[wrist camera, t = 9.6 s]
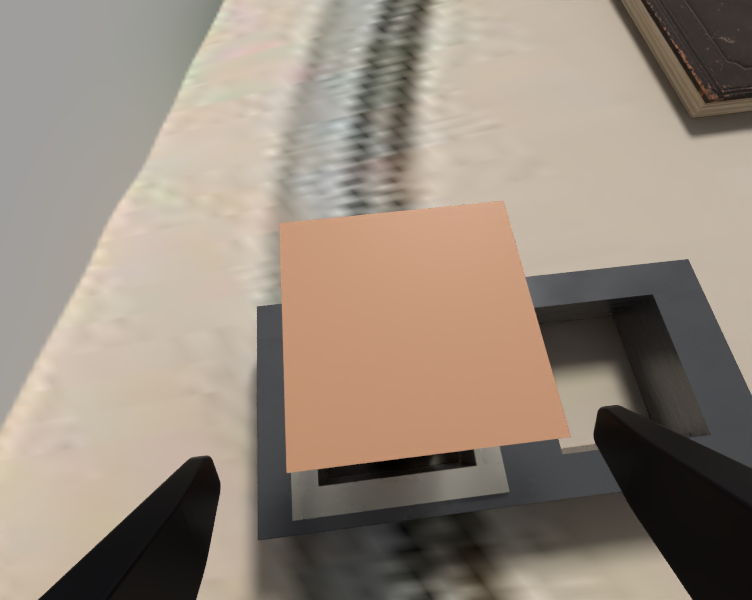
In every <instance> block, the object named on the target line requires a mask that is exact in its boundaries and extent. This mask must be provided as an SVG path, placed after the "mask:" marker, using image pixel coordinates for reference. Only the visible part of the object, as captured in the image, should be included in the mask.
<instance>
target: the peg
mask: <svg viewBox="0 0 752 600" xmlns="http://www.w3.org/2000/svg"><path fill="white" fill-rule="evenodd" d="M280 256H281V291H282V327H283V363H284V398H285V434H286V469H287V473H291V472H299V471H307V470H315V469H323V468H331V467H339V466H347V465H354V464H362V463H370V462H378V461H386V460H394V459H402V458H409V457H417V456H425V455H433V454H441V453H449V452H457V451H465V450H472V449H480V448H488V447H496V446H504V445H512V444H520V443H528V442H535V441H543V440H551V439H559V438H567V437H571V436H570V433H569V429H568V425H567V422H566V418H565V415H564V411H563V408H562V404H561V401H560V397H559V394H558V390H557V387H556V383H555V380H554V376H553V373H552V369H551V366H550V362H549V359H548V355H547V352H546V348H545V345H544V341H543V338H542V334H541V331H540V327H539V324H538V320H537V317H536V313H535V310H534V306H533V303H532V299H531V296H530V292H529V289H528V285H527V282H526V278H525V275H524V271H523V268H522V264H521V261H520V257H519V253H518V250H517V246H516V243H515V239H514V236H513V232H512V229H511V225H510V222H509V218H508V215H507V211H506V208H505V204H504V201H497V202H488V203H478V204H468V205H458V206H448V207H438V208H428V209H418V210H408V211H398V212H388V213H378V214H368V215H358V216H348V217H338V218H328V219H318V220H308V221H298V222H288V223H280Z"/></svg>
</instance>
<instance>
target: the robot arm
mask: <svg viewBox="0 0 752 600" xmlns="http://www.w3.org/2000/svg"><path fill="white" fill-rule="evenodd" d="M594 441H595V443H596V446H597V447H598V449H599V451H600V453H601V455H602V457H603V458H604V460H605V462H606V464H607V466H608V467H609V469H610V471H611V473H612V475H613V477H614V478H615V480H616V482H617V484H618V486H619V488H620V489H621V491H622V493H623V495H624V497H625V498H626V500H627V502H628V503H629V505H630V507H631V509H632V510H633V512H634V513H635V515H636V516H637V518H638V519H639V521H640V522H641V524H642V525H643V527H644V528H645V530H646V531H647V533H648V534H649V536H650V537H651V539H652V540H653V542H654V543H655V545H656V546H657V548H658V549H659V551H660V552H661V554H662V555H663V556H664V558H665V559H666V561H667V562H668V564H669V565H670V567H671V568H672V570H673V571H674V573H675V574H676V576H677V577H678V579H679V580H680V582H681V583H682V585H683V586H684V588H685V589H686V591H687V592H688V594H689V595H690V597H691V598H692V600H752V468H751V467H749V466H746V465H744V464H742V463H740V462H738V461H736V460H734V459H732V458H729V457H727V456H725V455H723V454H721V453H719V452H717V451H715V450H713V449H710V448H708V447H706V446H704V445H702V444H700V443H698V442H696V441H694V440H691V439H689V438H687V437H685V436H683V435H681V434H679V433H677V432H675V431H672V430H670V429H668V428H666V427H664V426H662V425H660V424H658V423H655V422H653V421H651V420H649V419H647V418H645V417H643V416H641V415H639V414H636V413H634V412H632V411H630V410H628V409H626V408H624V407H622V406H619V405H613V406H604V407H601V408H600V409H599V410H598V413H597V418H596V423H595V428H594ZM219 495H220V480H219V477H218V474H217V471H216V468H215V466H214V463H213V460H212V458H211V457H210V456H198V457H192V458H190V459H189V460H187V461H186V462H185V463H184V464H183V465H182V466H181V467H180V468H179V469H178V470H176V471H175V472H174V473H173V474H172V475H171V476H170V477H169V478H168V479H167V480H166V481H165V482H164V483H163V484H161V485H160V486H159V487H158V488H157V489H156V490H155V491H154V492H153V493H152V494H151V495H150V496H149V497H148V498H146V499H145V500H144V501H143V502H142V503H141V504H140V505H139V506H138V507H137V508H136V509H135V510H134V511H133V512H131V513H130V514H129V515H128V516H127V517H126V518H125V519H124V520H123V521H122V522H121V523H120V524H119V525H118V526H116V527H115V528H114V529H113V530H112V531H111V532H110V533H109V534H108V535H107V536H106V537H105V538H104V539H103V540H101V541H100V542H99V543H98V544H97V545H96V546H95V547H94V548H93V549H92V550H91V551H90V552H89V553H88V554H86V555H85V556H84V557H83V558H82V559H81V560H80V561H79V562H78V563H77V564H76V565H75V566H74V567H73V568H71V569H70V570H69V571H68V572H67V573H66V574H65V575H64V576H63V577H62V578H61V579H60V580H59V581H58V582H56V583H55V584H54V585H53V586H52V587H51V588H50V589H49V590H48V591H47V592H46V593H45V594H44V595H43V596H41V597H40V598H39V599H38V600H196V598H197V595H198V591H199V588H200V584H201V581H202V578H203V574H204V570H205V567H206V562H207V558H208V553H209V548H210V543H211V537H212V532H213V527H214V522H215V516H216V511H217V506H218V501H219Z"/></svg>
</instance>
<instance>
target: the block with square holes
mask: <svg viewBox="0 0 752 600" xmlns="http://www.w3.org/2000/svg"><path fill="white" fill-rule="evenodd" d="M525 278H526V282H527V285H528V289H529V292H530V296H531V299H532V303H533V306H534V310H535V313H536V317H537V320H538V324H543V323H552V322H561V321H570V320H578V319H587V318H596V317H604V316H614V319H615V321H616V324H617V327H618V330H619V332H620V335H621V338H622V341H623V343H624V346H625V349H626V352H627V354H628V357H629V360H630V363H631V365H632V368H633V371H634V374H635V376H636V379H637V382H638V385H639V387H640V390H641V393H642V396H643V398H644V401H645V404H646V407H647V409H648V412H649V415H650V418H651V420H652V421H653V422H655V423H658V424H660V425H662V426H664V427H666V428H668V429H670V430H672V431H675V432H677V433H679V434H681V435H683V436H685V437H687V438H689V439H691V440H694V441H696V442H698V443H700V444H702V445H704V446H706V447H708V448H710V449H713V450H715V451H717V452H719V453H721V454H723V455H725V456H727V457H729V458H732V459H734V460H736V461H738V462H740V463H742V464H744V465H746V466H749V467H751V468H752V395H751V393H750V391H749V389H748V387H747V384H746V382H745V380H744V378H743V376H742V374H741V372H740V369H739V367H738V365H737V363H736V361H735V359H734V357H733V354H732V352H731V350H730V348H729V346H728V344H727V342H726V339H725V337H724V335H723V333H722V331H721V329H720V326H719V324H718V322H717V320H716V318H715V316H714V314H713V311H712V309H711V307H710V305H709V303H708V301H707V299H706V296H705V294H704V292H703V290H702V288H701V286H700V284H699V281H698V279H697V277H696V275H695V273H694V271H693V268H692V266H691V264H690V262H689V260H688V259H686V260H677V261H668V262H658V263H649V264H640V265H631V266H622V267H613V268H604V269H595V270H586V271H576V272H567V273H558V274H549V275H540V276H531V277H525ZM257 422H258V540H265V539H272V538H280V537H287V536H294V535H302V534H309V533H317V532H324V531H331V530H339V529H346V528H354V527H361V526H369V525H376V524H383V523H391V522H398V521H406V520H413V519H420V518H428V517H435V516H443V515H450V514H458V513H465V512H472V511H480V510H487V509H495V508H502V507H509V506H517V505H524V504H532V503H539V502H547V501H554V500H561V499H569V498H576V497H584V496H591V495H598V494H606V493H613V492H621V489H620V488H619V486H618V484H617V482H616V480H615V478H614V477H613V475H612V473H611V471H610V469H609V467H608V466H607V464H606V462H605V460H604V458H603V457H602V455H601V453H600V451H599V449H598V447H597V446H596V444H594V445H586V446H578V447H570V448H563V449H561V447H560V444H559V440H558V439H551V440H543V441H535V442H528V443H520V444H512V445H504V446H496V447H488V448H480V449H472V450H465V451H458V456H459V461H460V462H454V463H447V464H439V465H431V466H423V467H416V468H408V469H400V470H392V471H385V472H377V473H369V474H361V475H354V476H346V477H338V478H330V479H329V474H328V468H323V469H315V470H307V471H299V472H291V473H287V469H286V434H285V398H284V363H283V327H282V304H276V305H267V306H258V307H257Z"/></svg>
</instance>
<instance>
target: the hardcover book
mask: <svg viewBox="0 0 752 600" xmlns="http://www.w3.org/2000/svg"><path fill="white" fill-rule="evenodd" d="M621 1H622V3H623V5H624V6H625V8H626V10H627V11H628V13H629V15H630V16H631V18H632V20H633V21H634V23H635V25H636V26H637V28H638V30H639V31H640V33H641V35H642V36H643V38H644V40H645V41H646V43H647V45H648V46H649V48H650V50H651V51H652V53H653V55H654V56H655V58H656V60H657V61H658V63H659V65H660V66H661V68H662V70H663V71H664V73H665V75H666V76H667V78H668V80H669V81H670V83H671V85H672V86H673V88H674V90H675V91H676V93H677V95H678V97H679V98H680V100H681V102H682V103H683V105H684V107H685V108H686V110H687V112H688V113H689V115H690V117H691V118H697V117H706V116H714V115H722V114H730V113H738V112H746V111H752V0H621Z"/></svg>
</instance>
